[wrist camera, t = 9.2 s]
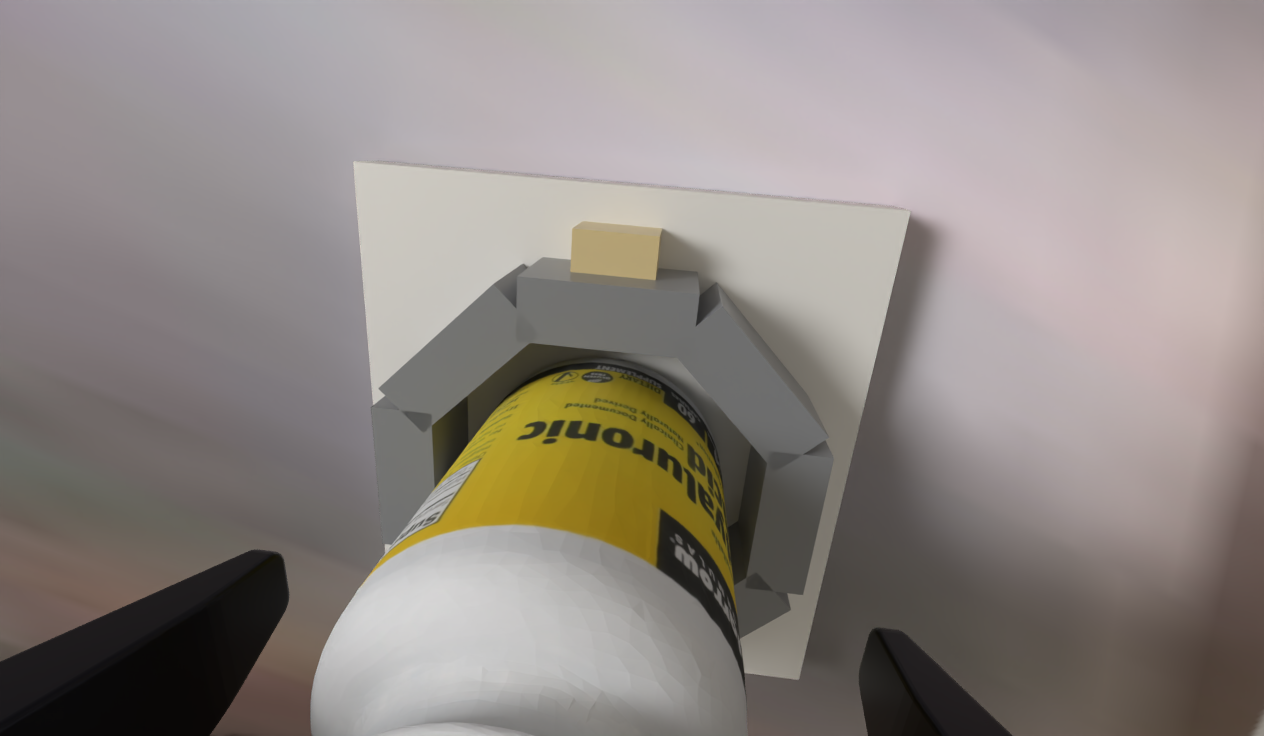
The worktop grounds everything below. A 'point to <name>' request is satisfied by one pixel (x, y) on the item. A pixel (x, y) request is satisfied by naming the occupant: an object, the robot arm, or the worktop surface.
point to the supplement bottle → (553, 579)
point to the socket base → (636, 341)
